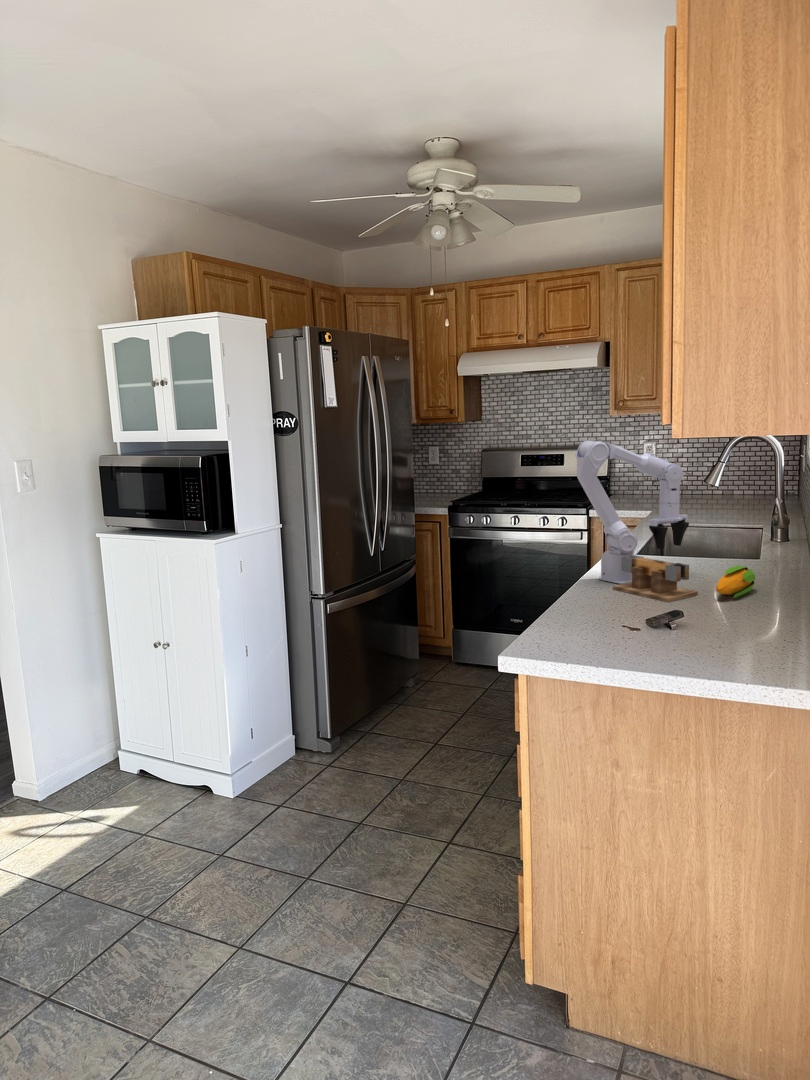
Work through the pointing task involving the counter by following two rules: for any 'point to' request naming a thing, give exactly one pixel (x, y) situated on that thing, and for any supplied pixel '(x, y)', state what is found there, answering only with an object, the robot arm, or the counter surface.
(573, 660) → the counter surface
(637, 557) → the spanner
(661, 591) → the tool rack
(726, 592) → the corn
